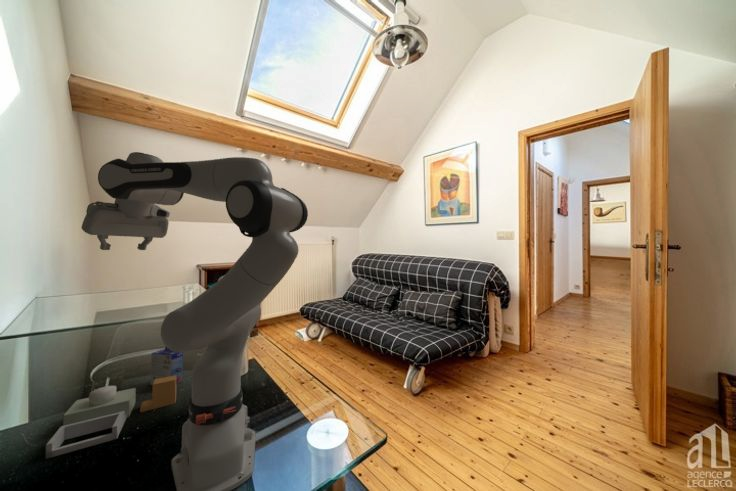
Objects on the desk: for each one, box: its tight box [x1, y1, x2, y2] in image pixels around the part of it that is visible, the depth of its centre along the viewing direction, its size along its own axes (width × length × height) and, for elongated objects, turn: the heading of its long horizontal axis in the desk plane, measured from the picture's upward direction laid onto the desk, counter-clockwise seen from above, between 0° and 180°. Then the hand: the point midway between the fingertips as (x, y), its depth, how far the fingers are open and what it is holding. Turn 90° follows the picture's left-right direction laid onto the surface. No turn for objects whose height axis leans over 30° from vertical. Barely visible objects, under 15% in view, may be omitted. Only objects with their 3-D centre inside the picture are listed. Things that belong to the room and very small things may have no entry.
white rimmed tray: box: [45, 385, 137, 460], centre depth 77 cm, size 20×14×8 cm
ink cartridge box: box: [149, 346, 184, 386], centre depth 103 cm, size 10×6×14 cm, turn 78°
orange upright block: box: [139, 375, 177, 413], centre depth 88 cm, size 4×9×8 cm, turn 122°
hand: (124, 249), depth 80 cm, fingers open, 8 cm apart
